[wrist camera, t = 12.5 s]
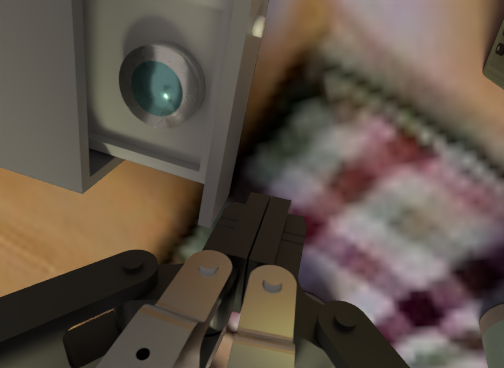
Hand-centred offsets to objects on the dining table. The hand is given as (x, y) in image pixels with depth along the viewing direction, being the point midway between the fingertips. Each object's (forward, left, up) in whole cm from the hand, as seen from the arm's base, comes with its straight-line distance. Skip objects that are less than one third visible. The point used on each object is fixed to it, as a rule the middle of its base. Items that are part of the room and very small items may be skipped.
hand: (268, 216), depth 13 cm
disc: (+11, +2, -15) cm, 18 cm away
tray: (+13, +2, -16) cm, 20 cm away
